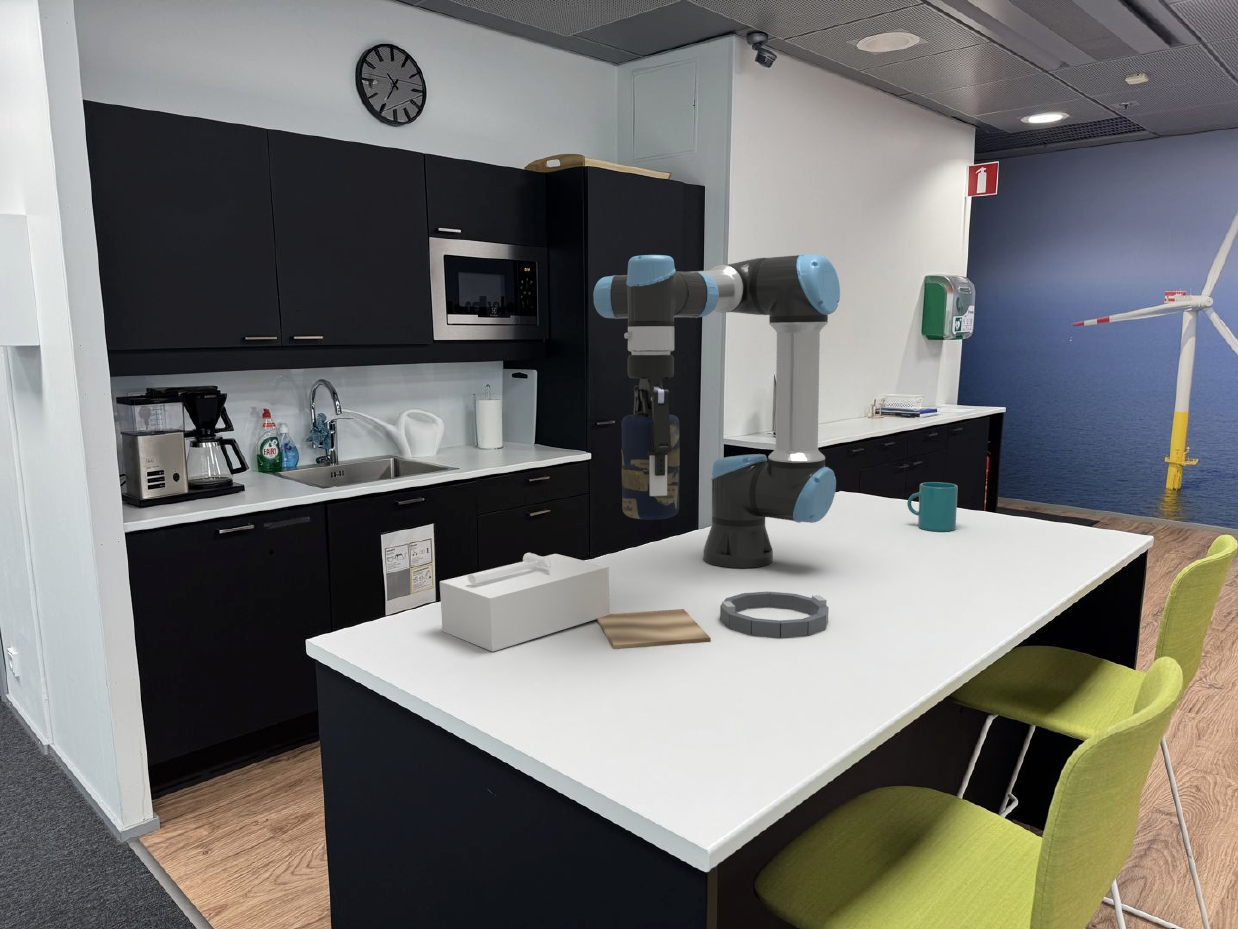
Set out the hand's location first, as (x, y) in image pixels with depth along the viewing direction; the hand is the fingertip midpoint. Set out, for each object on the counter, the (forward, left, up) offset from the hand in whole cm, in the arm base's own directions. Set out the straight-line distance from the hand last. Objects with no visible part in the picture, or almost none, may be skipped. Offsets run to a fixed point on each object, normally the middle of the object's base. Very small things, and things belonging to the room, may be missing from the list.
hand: (650, 490), depth 150 cm
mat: (0, 0, -24) cm, 24 cm away
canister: (0, 0, -5) cm, 5 cm away
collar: (0, +22, -24) cm, 32 cm away
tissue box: (-7, -20, -24) cm, 32 cm away
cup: (-63, +89, -24) cm, 112 cm away
